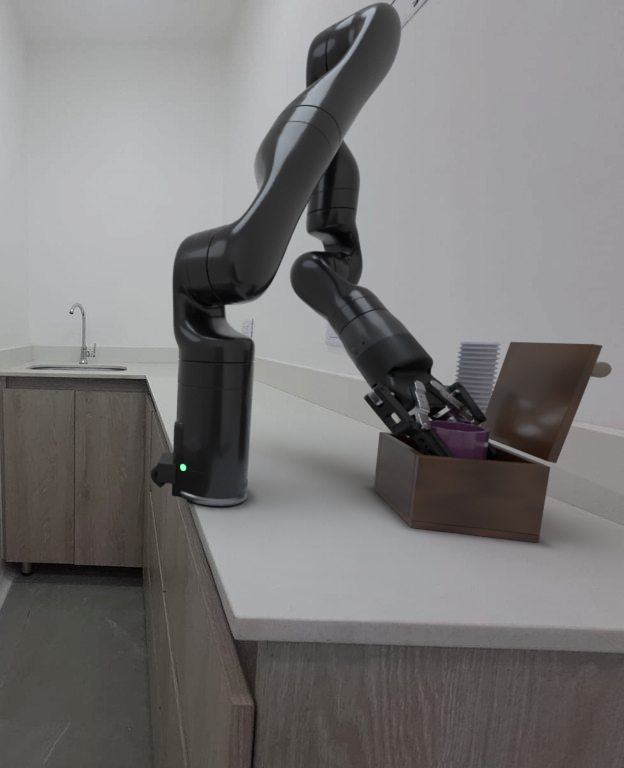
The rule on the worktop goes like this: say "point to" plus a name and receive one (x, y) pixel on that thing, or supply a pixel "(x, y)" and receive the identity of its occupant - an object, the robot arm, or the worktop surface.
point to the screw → (478, 371)
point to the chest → (462, 490)
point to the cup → (463, 438)
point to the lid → (541, 395)
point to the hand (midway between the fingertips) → (467, 461)
